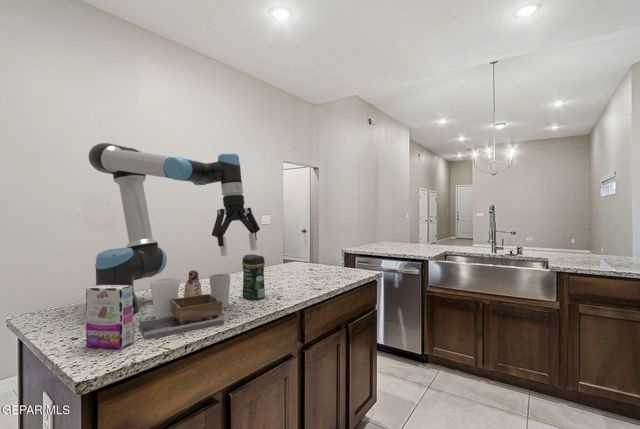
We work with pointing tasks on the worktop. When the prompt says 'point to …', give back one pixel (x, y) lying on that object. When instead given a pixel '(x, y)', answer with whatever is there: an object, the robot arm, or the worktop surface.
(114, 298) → the candy bar box
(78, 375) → the worktop surface
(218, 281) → the cup
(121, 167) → the robot arm
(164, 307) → the foam cup
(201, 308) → the open wooden crate
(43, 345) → the worktop surface
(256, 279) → the coffee jar
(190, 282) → the figurine
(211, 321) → the grey metal tray
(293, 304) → the worktop surface
